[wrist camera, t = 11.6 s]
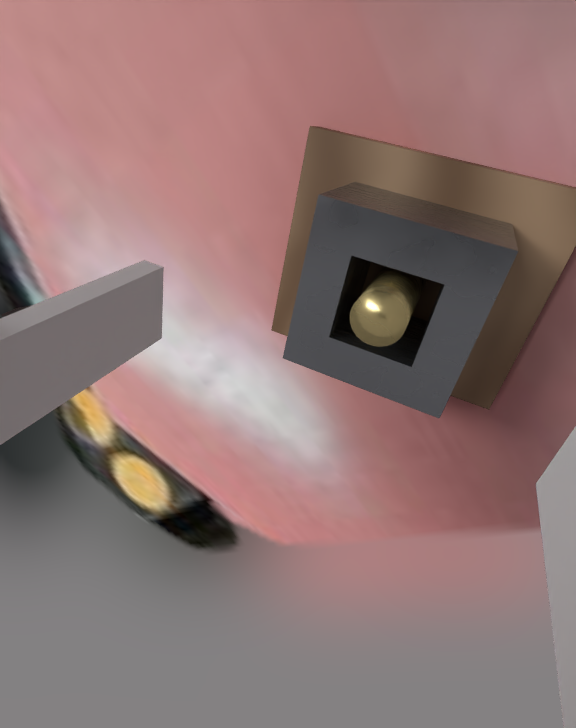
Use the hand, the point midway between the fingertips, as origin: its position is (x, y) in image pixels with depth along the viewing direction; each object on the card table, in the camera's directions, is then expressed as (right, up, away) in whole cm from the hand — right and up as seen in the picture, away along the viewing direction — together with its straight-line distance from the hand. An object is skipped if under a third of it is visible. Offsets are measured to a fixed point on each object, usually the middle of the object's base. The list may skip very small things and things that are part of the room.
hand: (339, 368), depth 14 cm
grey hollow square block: (+5, +5, +11) cm, 13 cm away
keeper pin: (+5, +5, +11) cm, 13 cm away
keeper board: (+5, +6, +12) cm, 14 cm away
